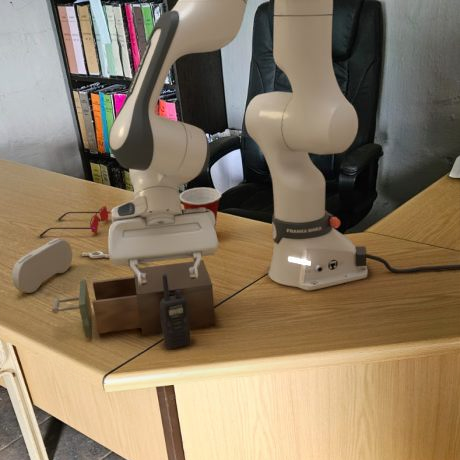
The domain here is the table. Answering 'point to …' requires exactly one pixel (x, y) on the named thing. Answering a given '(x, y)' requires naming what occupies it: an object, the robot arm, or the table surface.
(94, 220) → the glasses
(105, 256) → the scissors
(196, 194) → the plastic cup
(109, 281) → the drawer
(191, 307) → the cabinet
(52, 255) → the game controller
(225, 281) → the table surface
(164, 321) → the two-way radio
